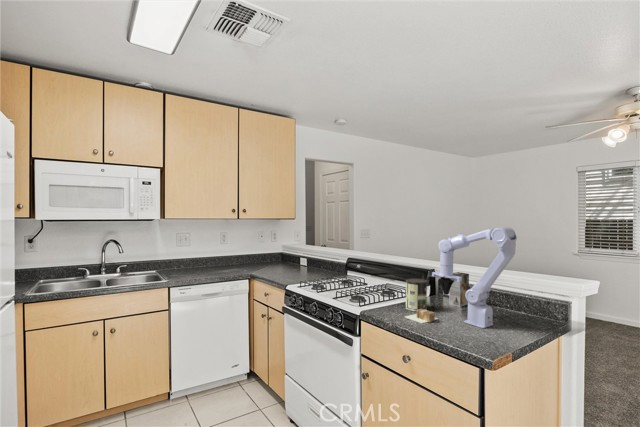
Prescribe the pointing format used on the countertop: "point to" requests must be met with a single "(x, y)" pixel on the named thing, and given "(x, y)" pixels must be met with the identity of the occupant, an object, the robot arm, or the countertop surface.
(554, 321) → the countertop surface
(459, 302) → the coffee box
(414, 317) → the felt mat
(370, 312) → the countertop surface
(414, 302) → the coffee can
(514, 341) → the countertop surface
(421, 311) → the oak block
